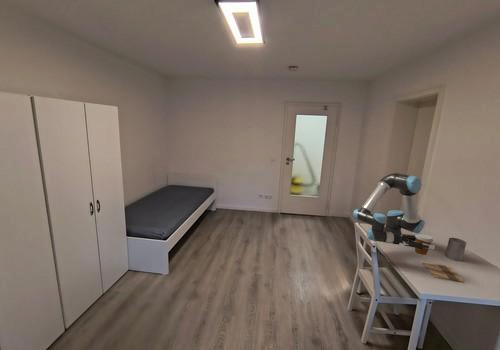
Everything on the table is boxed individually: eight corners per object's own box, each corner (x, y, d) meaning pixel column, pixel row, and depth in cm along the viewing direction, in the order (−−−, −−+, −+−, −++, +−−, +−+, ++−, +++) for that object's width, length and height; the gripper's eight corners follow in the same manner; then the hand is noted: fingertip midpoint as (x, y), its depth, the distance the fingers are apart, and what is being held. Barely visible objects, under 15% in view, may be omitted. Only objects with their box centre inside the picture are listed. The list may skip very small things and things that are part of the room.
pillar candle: (444, 252, 176) (448, 234, 173) (461, 256, 171) (465, 238, 168) (445, 258, 169) (450, 239, 166) (463, 262, 163) (468, 243, 160)
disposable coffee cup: (408, 248, 158) (412, 232, 156) (422, 249, 158) (426, 233, 156) (418, 255, 149) (421, 239, 147) (433, 256, 149) (437, 239, 146)
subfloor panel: (422, 262, 161) (422, 261, 161) (449, 267, 157) (449, 266, 156) (433, 277, 145) (433, 276, 145) (464, 283, 141) (464, 281, 140)
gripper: (387, 236, 168) (423, 242, 161) (395, 250, 148) (437, 257, 142) (389, 227, 166) (425, 232, 160) (397, 239, 147) (439, 246, 140)
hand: (431, 244), depth 151 cm, fingers closed on disposable coffee cup, 8 cm apart
